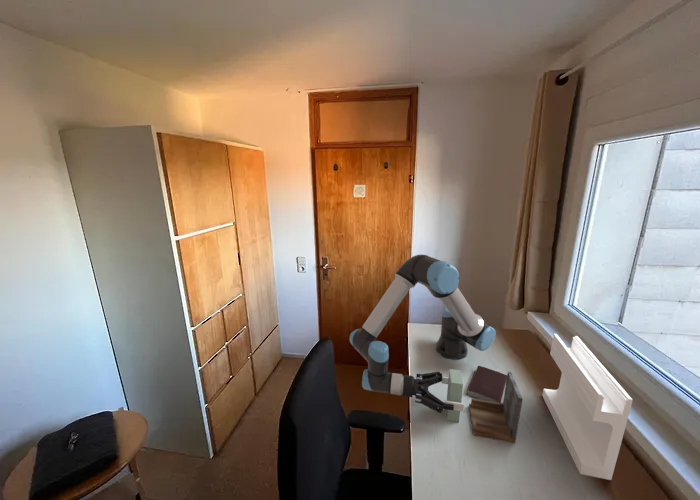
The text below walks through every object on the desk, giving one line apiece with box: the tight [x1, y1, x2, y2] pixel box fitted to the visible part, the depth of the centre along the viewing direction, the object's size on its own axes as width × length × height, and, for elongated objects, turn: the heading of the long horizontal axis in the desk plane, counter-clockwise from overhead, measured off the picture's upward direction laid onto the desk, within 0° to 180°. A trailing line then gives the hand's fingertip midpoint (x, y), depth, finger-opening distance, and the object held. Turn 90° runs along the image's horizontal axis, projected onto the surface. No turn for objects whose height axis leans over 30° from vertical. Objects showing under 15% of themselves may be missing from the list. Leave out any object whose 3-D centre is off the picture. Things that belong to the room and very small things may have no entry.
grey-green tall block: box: [445, 368, 464, 423], centre depth 116 cm, size 8×4×16 cm, turn 167°
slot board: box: [468, 371, 524, 444], centre depth 111 cm, size 14×13×18 cm
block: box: [542, 333, 634, 481], centre depth 107 cm, size 35×8×28 cm, turn 166°
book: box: [466, 365, 507, 403], centre depth 132 cm, size 12×19×3 cm, turn 146°
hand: (461, 394), depth 115 cm, fingers open, 13 cm apart
